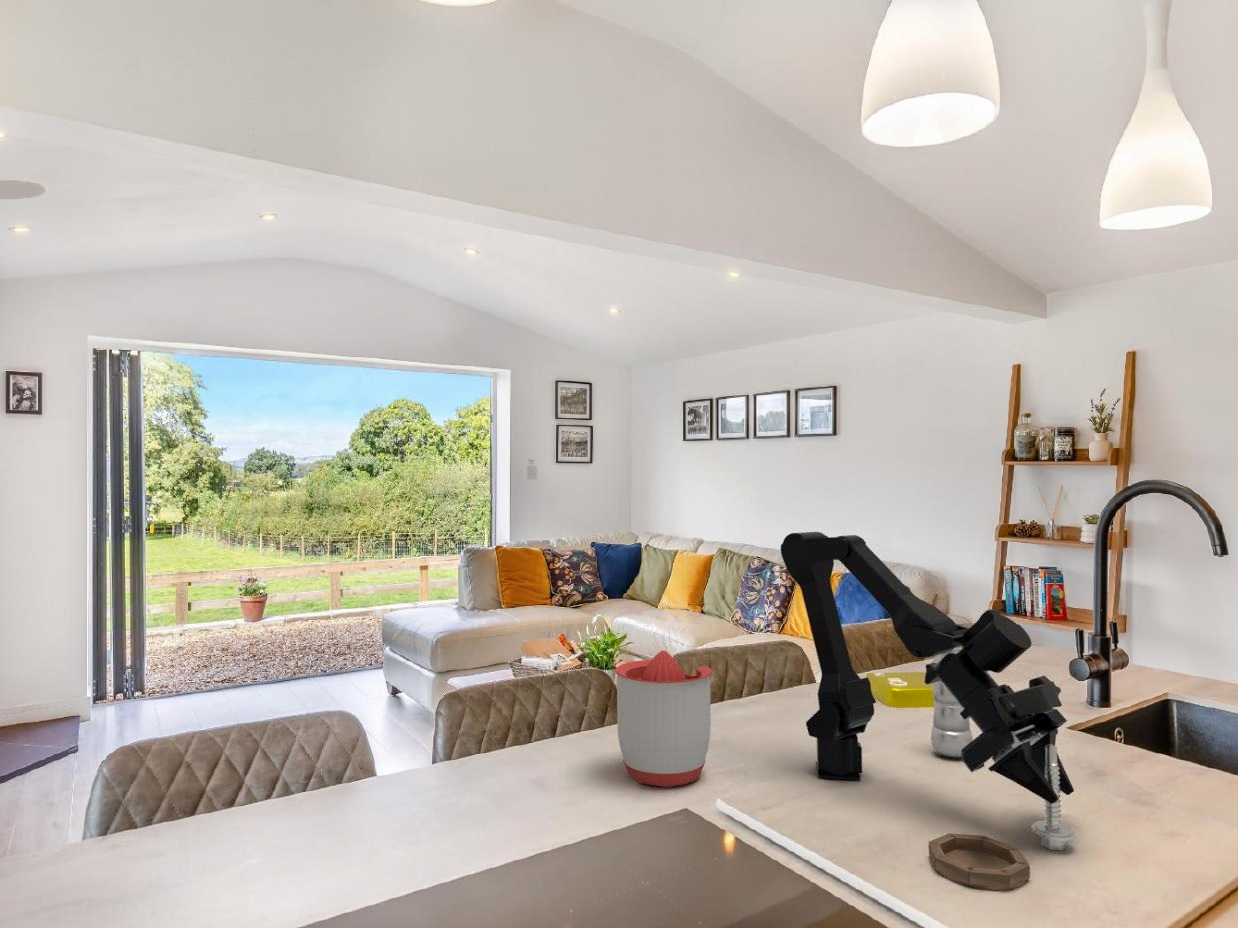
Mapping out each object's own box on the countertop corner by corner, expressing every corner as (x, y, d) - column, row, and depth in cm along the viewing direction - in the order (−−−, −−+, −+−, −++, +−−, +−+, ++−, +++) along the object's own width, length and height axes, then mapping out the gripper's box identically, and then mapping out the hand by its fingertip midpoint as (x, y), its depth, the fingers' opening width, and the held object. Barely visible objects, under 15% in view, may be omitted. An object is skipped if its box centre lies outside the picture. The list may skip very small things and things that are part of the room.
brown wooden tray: (940, 885, 91) (940, 869, 91) (923, 844, 101) (922, 830, 101) (1039, 894, 88) (1039, 878, 89) (1011, 851, 99) (1011, 837, 99)
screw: (1026, 846, 100) (1039, 834, 104) (1068, 858, 97) (1080, 845, 100) (1024, 743, 101) (1037, 735, 104) (1065, 752, 97) (1077, 743, 101)
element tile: (959, 708, 166) (959, 685, 166) (890, 710, 164) (890, 687, 165) (926, 690, 181) (926, 669, 181) (863, 691, 179) (862, 670, 180)
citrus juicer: (738, 770, 128) (737, 647, 129) (671, 802, 115) (669, 665, 116) (664, 749, 139) (663, 636, 139) (595, 776, 126) (595, 650, 127)
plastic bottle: (977, 763, 131) (975, 642, 132) (934, 760, 132) (932, 641, 133) (968, 750, 137) (966, 635, 138) (927, 748, 139) (925, 634, 139)
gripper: (982, 667, 99) (1079, 781, 90) (1049, 648, 110) (1141, 748, 101) (925, 716, 105) (1011, 828, 95) (995, 694, 116) (1077, 791, 107)
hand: (1063, 797), depth 100 cm, fingers open, 4 cm apart
